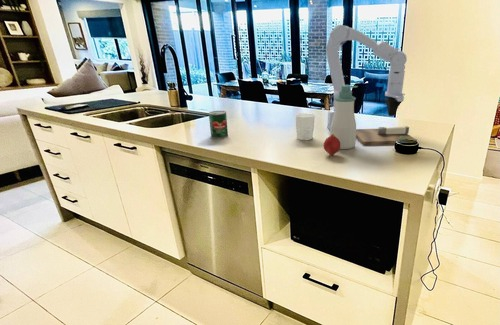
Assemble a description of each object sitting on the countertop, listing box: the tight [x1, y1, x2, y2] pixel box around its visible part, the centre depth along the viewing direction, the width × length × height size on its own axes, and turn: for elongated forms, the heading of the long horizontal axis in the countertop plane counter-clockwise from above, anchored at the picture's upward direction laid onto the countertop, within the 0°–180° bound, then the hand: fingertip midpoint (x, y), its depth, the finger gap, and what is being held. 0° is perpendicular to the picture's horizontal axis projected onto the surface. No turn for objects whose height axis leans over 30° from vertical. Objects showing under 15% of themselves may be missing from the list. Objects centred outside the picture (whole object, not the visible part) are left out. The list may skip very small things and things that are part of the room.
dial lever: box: [377, 125, 410, 135], centre depth 122 cm, size 12×3×3 cm, turn 87°
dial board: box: [356, 128, 418, 146], centre depth 123 cm, size 20×18×2 cm
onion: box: [323, 134, 341, 156], centre depth 106 cm, size 6×6×8 cm
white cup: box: [295, 112, 316, 141], centre depth 126 cm, size 8×8×10 cm
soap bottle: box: [328, 84, 358, 150], centre depth 112 cm, size 10×10×23 cm
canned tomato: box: [208, 110, 229, 139], centre depth 135 cm, size 8×8×11 cm
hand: (391, 115), depth 127 cm, fingers closed
